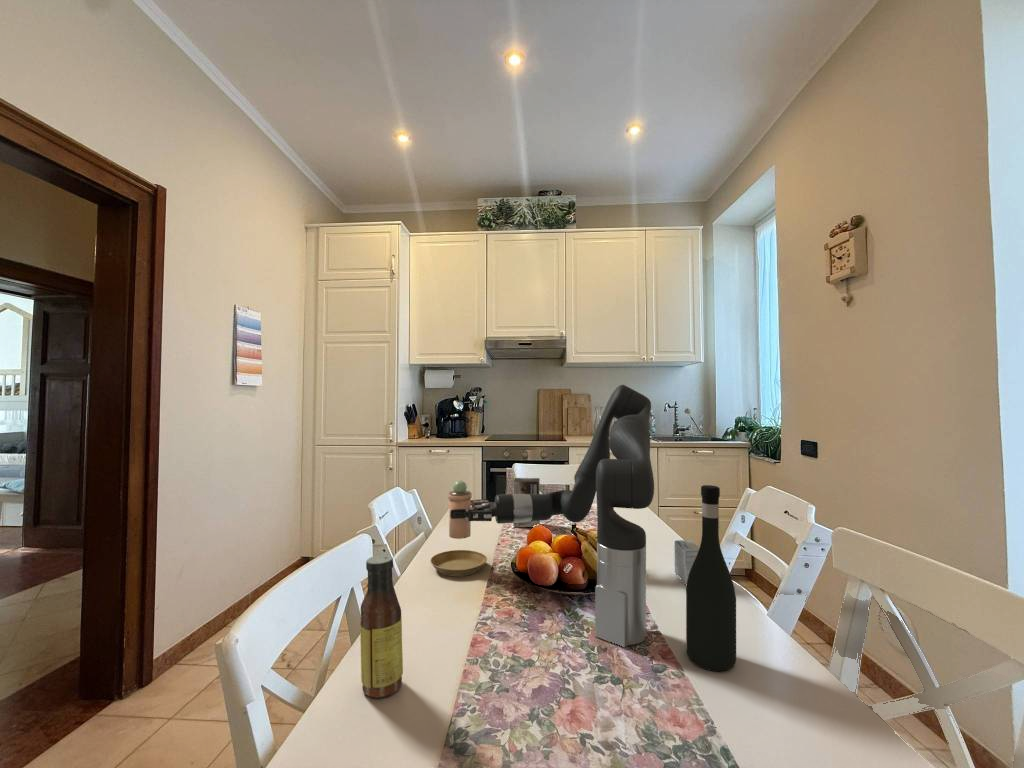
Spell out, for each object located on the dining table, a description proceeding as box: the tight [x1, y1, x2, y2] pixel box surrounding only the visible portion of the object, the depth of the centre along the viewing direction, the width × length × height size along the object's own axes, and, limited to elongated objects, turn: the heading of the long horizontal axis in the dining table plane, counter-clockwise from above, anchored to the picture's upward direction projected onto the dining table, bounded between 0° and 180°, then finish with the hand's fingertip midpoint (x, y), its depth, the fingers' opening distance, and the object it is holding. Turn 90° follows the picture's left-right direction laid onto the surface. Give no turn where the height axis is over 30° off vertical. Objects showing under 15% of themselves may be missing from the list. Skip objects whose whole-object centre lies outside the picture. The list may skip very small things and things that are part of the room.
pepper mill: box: [447, 480, 473, 540], centre depth 123 cm, size 6×6×14 cm
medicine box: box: [674, 539, 700, 585], centre depth 116 cm, size 8×4×9 cm, turn 179°
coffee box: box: [512, 477, 541, 528], centre depth 163 cm, size 9×6×16 cm
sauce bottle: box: [359, 554, 404, 699], centre depth 73 cm, size 7×6×20 cm
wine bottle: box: [685, 484, 737, 672], centre depth 81 cm, size 8×8×30 cm
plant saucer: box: [430, 549, 488, 577], centre depth 123 cm, size 15×15×3 cm
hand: (450, 511), depth 123 cm, fingers closed on pepper mill, 5 cm apart
